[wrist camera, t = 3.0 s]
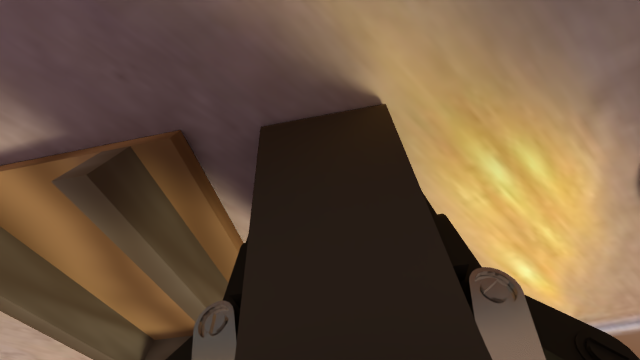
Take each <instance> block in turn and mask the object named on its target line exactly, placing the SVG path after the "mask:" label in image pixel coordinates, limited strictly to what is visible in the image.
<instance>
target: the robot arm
mask: <svg viewBox="0 0 640 360" xmlns="http://www.w3.org/2000/svg"><path fill="white" fill-rule="evenodd" d="M422 193H423V192H422ZM423 196H424V198H425V200H426V203H427V205H428V208H429V210H430V213H431V215H432V217H433V220H434V222H435V225H436V227H437V229H438V232H439V234H440V237H441V239H442V242H443V244H444V246H445V249H446V251H447V254H448V256H449V258H450V261H451V263H452V266H453V268H454V271H455V273H456V275H457V278H458V280H459V283H460V285H461V287H462V290H463V292H464V295H465V297H466V300H467V302H468V304H469V307H470V309H471V312H472V314H473V316H474V319H475V321H476V324H477V326H478V328H479V331H480V333H481V336H482V338H483V340H484V342H485V345H486V347H487V349H488V351H489V353H490V355H491V358H492V360H640V359H639V358H638V357H637V356H636V355H635V354H634V353H633V352H632V351H631V350H630V349H629V348H628V347H627V346H625V345H624V344H623V343H622V342H620V341H619V340H617V339H616V338H614V337H612V336H611V335H609V334H607V333H605V332H603V331H601V330H599V329H597V328H594V327H592V326H590V325H588V324H586V323H584V322H582V321H580V320H577V319H575V318H573V317H571V316H569V315H567V314H565V313H562V312H560V311H558V310H556V309H554V308H552V307H550V306H547V305H545V304H543V303H541V302H539V301H537V300H535V299H532V298H530V297H528V296H526V295H524V292H523V290H522V288H521V287H520V285H519V284H518V283H517V282H516V281H515V279H513V278H512V277H511V276H509V275H508V274H506V273H504V272H502V271H500V270H498V269H494V268H488V267H481V265H480V264H479V262H478V261H477V260H476V258H475V257H474V255H473V254H472V252H471V251H470V249H469V248H468V247H467V245H466V244H465V242H464V241H463V239H462V238H461V237H460V235H459V234H458V232H457V231H456V229H455V228H454V226H453V225H452V224H451V222H450V221H449V219H448V218H447V217H446V215H444V214H436V212H435V211H434V209H433V208H432V206H431V205H430V203H429V201H428V200H427V198H426V197H425V195H424V194H423ZM248 236H249V234H248ZM247 245H248V238H247V241H246V243H243V244H242V245H241V247H240V250H239V253H238V256H237V259H236V262H235V265H234V268H233V271H232V274H231V277H230V280H229V283H228V286H227V289H226V292H225V295H224V298H223V301H218V302H215V303H213V304H211V305H209V306H208V307H207V308H206V309H205V310H204V311H202V313H201V314H200V315H199V317H198V318H197V321H196V323H195V325H194V330H193V335H192V336H191V337H190V338H189V339H188V340H187V341H186V342H184V343H183V344H182V345H181V346H180V347H179V348H178V349H177V350H176V351H174V352H173V353H172V354H171V355H170V356H169V357H168V358H167V359H165V360H235V352H236V343H237V334H238V325H239V316H240V307H241V299H242V290H243V281H244V272H245V263H246V254H247Z"/></svg>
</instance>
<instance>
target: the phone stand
mask: <svg viewBox="0 0 640 360" xmlns="http://www.w3.org/2000/svg"><path fill="white" fill-rule="evenodd" d="M235 360H492V358H491V355H490V353H489V351H488V349H487V347H486V345H485V342H484V340H483V338H482V336H481V333H480V331H479V328H478V326H477V324H476V321H475V319H474V316H473V314H472V312H471V309H470V307H469V304H468V302H467V300H466V297H465V295H464V292H463V290H462V287H461V285H460V283H459V280H458V278H457V275H456V273H455V271H454V268H453V266H452V263H451V261H450V258H449V256H448V254H447V251H446V249H445V246H444V244H443V242H442V239H441V237H440V234H439V232H438V229H437V227H436V225H435V222H434V220H433V217H432V215H431V213H430V210H429V208H428V205H427V203H426V200H425V198H424V196H423V193H422V191H421V188H420V186H419V184H418V181H417V179H416V176H415V174H414V171H413V169H412V167H411V164H410V162H409V159H408V157H407V155H406V152H405V150H404V147H403V145H402V142H401V140H400V138H399V135H398V133H397V130H396V128H395V126H394V123H393V121H392V118H391V116H390V113H389V111H388V109H387V106H386V104H382V105H377V106H371V107H366V108H360V109H355V110H350V111H344V112H339V113H334V114H328V115H323V116H317V117H312V118H307V119H301V120H296V121H290V122H285V123H280V124H274V125H269V126H263V127H261V129H260V138H259V147H258V156H257V165H256V174H255V182H254V191H253V200H252V209H251V218H250V227H249V236H248V245H247V254H246V263H245V272H244V281H243V290H242V299H241V307H240V316H239V325H238V334H237V343H236V352H235Z"/></svg>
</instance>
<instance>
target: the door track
mask: <svg viewBox="0 0 640 360" xmlns="http://www.w3.org/2000/svg"><path fill="white" fill-rule="evenodd" d="M242 244H243V241H242V240H241V238H240V236H239V234H238V232H237V231H236V229H235V227H234V225H233V223H232V222H231V220H230V218H229V216H228V214H227V213H226V211H225V209H224V207H223V205H222V204H221V202H220V200H219V198H218V197H217V195H216V193H215V191H214V189H213V188H212V186H211V184H210V182H209V180H208V179H207V177H206V175H205V173H204V171H203V170H202V168H201V166H200V164H199V162H198V161H197V159H196V157H195V155H194V154H193V152H192V150H191V148H190V146H189V145H188V143H187V141H186V139H185V137H184V136H183V134H182V132H181V130H178V131H173V132H168V133H163V134H158V135H153V136H148V137H143V138H138V139H133V140H128V141H123V142H118V143H113V144H108V145H103V146H98V147H93V148H88V149H83V150H78V151H73V152H68V153H63V154H58V155H52V156H47V157H42V158H37V159H32V160H27V161H22V162H17V163H12V164H7V165H2V166H0V311H2V312H3V313H5V314H7V315H9V316H11V317H13V318H15V319H17V320H19V321H21V322H22V323H24V324H26V325H28V326H30V327H32V328H34V329H36V330H38V331H40V332H42V333H43V334H45V335H47V336H49V337H51V338H53V339H55V340H57V341H59V342H61V343H63V344H64V345H66V346H68V347H70V348H72V349H74V350H76V351H78V352H80V353H82V354H84V355H85V356H87V357H89V358H91V359H93V360H165V359H167V358H168V357H169V356H170V355H171V354H172V353H173V352H174V351H176V350H177V349H178V348H179V347H180V346H181V345H182V344H183V343H184V342H186V341H187V340H188V339H189V338H190V337H191V336H192V335H193V330H194V325H195V323H196V321H197V318H198V317H199V315H200V314H201V313H202V311H204V310H205V309H206V308H207V307H208V306H209V305H211V304H213V303H215V302H218V301H223V298H224V295H225V292H226V289H227V286H228V283H229V280H230V277H231V274H232V271H233V268H234V265H235V262H236V259H237V256H238V253H239V250H240V247H241V245H242Z"/></svg>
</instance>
